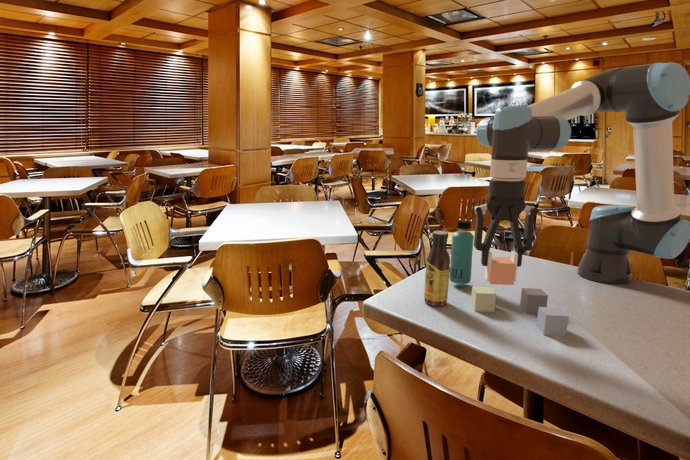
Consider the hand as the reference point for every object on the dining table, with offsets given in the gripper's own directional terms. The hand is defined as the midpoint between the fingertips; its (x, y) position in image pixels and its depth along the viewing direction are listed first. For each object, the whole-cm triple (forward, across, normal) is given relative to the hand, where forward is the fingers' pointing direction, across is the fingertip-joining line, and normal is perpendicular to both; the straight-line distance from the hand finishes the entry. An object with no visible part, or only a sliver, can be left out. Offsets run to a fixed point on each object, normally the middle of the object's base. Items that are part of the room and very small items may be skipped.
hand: (499, 279), depth 106 cm
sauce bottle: (+12, -12, +15) cm, 23 cm away
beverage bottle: (+13, -3, +30) cm, 33 cm away
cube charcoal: (+13, +13, +13) cm, 22 cm away
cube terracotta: (0, 0, 0) cm, 0 cm away
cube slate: (+13, +13, 0) cm, 18 cm away
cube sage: (+13, 0, +13) cm, 18 cm away
